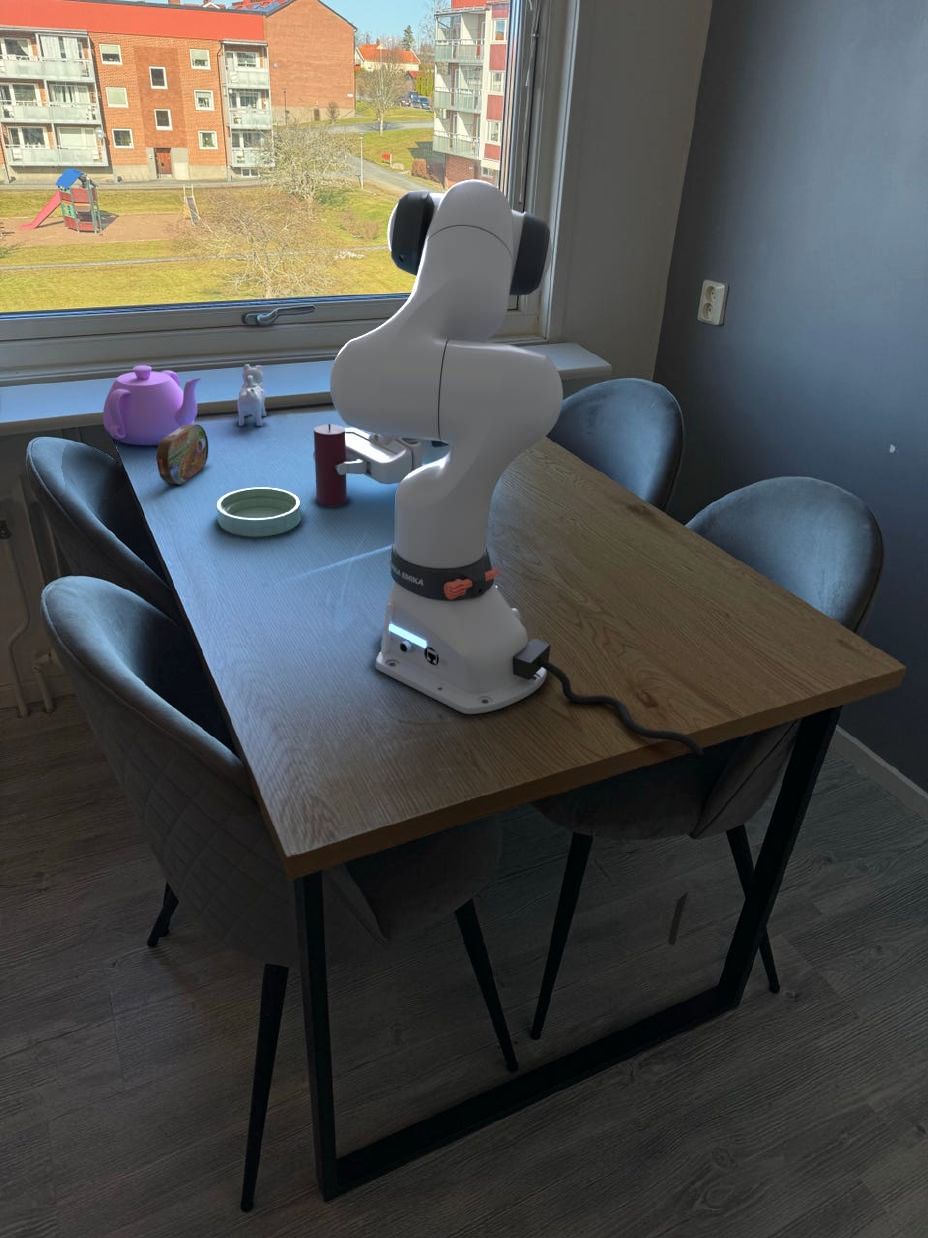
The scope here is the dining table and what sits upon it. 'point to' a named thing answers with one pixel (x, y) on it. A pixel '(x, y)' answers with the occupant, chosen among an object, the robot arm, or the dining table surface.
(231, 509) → the bowl
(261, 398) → the dog figurine
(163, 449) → the tin
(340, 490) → the candle
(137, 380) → the teapot
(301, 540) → the dining table surface
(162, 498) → the dining table surface
